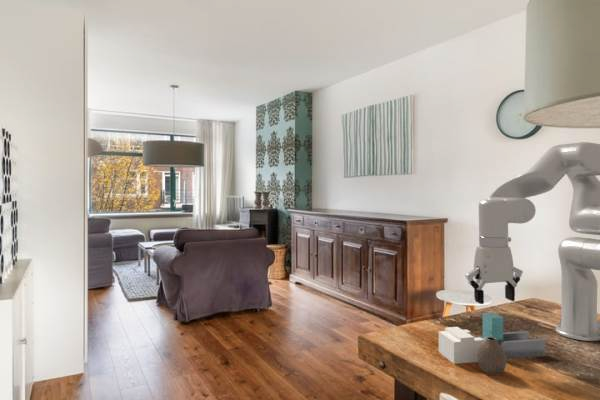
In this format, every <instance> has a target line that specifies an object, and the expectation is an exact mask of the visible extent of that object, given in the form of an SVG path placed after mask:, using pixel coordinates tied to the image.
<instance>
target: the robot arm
mask: <svg viewBox="0 0 600 400" xmlns="http://www.w3.org/2000/svg"><path fill="white" fill-rule="evenodd" d="M565 175H566V176H567V177H568V180H569V181H570V183H571V185H572V191H573V192H572V193H573V194H572V200H571V206H570V212H569V218H568V220H569V221H568V224H569V228H570V230H571V231H572V232H575V233H578V234H585V235H593V236H600V180H599V178H598V177H597V176H600V143H595V142H594V143H593V142H586V141H585V142H584V141H583V142H574V143H573V142H572V143H564V144H563V143H562V144H557V145H553V146H552V147H550V148H549V149H548V150H546V152H544V154H543V155H542V156H541V157H540V158H539V159H538V160H537V161H536V162H535V163H534V164H533V165H532V166H531V167H530V169H529V170H527V171H525V172H523V173H521V174H519V175H518V176H515V177H514V178H512V179H510V180H508V181H506V182H504V183H502V184H501V185H500V186H498V187H497V188H496V189H495V190H494V191H493V192H492V193H491V194H490V195H489V196H488V198H486V199H482V200H480V201H479V203H478V242H479V243H478V244H479V245H478V246H476V249H475V253H474V257H473V258H474V260H473V269H472V270H470V271H469V272H466V274H465V275H464V277H465V278H466V280H467V281H468V284H469V285H470V286H471V287H472V288H473V289H474V298H473V299H474V301H475V303H478V304H480V305H483V304H484V303H485V301H484V300H485V298H484V290H483V287H484V286H485V285H486V284H493V283H505V286H504V289H505V290H504V293H505V294H504V298H505V299H506V300H509V301H511V302H515V299H516V298H515V297H516V291H515V290H516V289H515V288H516V287H517V286H518V283H519V282H520V280H521V278H522V275H523V270H521V269H519V268H517V267H516V266H514V259H513V254H512V249H511V247H510V246H509V243H511V241H512V238H511V237H509V224H517V225H518V224H527V223H528V222H530V221H531V220H533V218H534V217H535V216H536V206H535V204H534V203H533V201H531V200H530V199H528V198H530V197H534V196H535V197H536V196H539V195H543V194H545V193H548V192H551V190H553V189H554V188H555V187H556V186H557V185H558V183H559V182H560V181H561V180H562V179H563V178H564V177H565ZM557 251H558V252H557V253H558V258H559V262H560V270H561V302H560V303H561V308H560V310H561V319H560V320H561V321H560V323H561V324H558V325H556V326H555V332H556V333H558V334H559V335H560V336H562V337H565V338H569V339H573V340H579V341H583V342H584V341H585V342H598V341H600V321H598V281H597V278H596V276H595V273H594V271H600V239H596V238H591V237H589V238H588V237H579V236H573V237H572V236H571V237H567V238H564V239H563V240H562V241H561V242H560V243H559V246H558V249H557ZM593 270H594V271H593Z"/></svg>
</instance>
